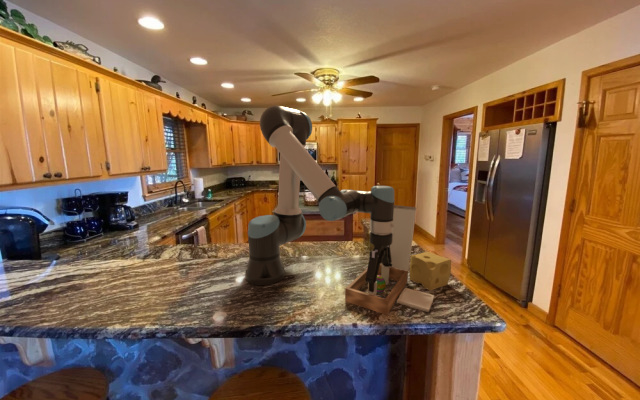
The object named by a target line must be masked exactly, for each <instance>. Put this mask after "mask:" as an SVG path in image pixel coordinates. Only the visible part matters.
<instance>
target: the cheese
mask: <svg viewBox="0 0 640 400" xmlns="http://www.w3.org/2000/svg"><path fill="white" fill-rule="evenodd" d="M451 271H452V259H450V258H448V257H445V256H441V255H438V254H435V253H434V252H430V251H424V252H421V253H418V254H411V255H410V263H409V280H410V281H413V282H414V283H416V284H418V285H419V284H420V285H422V287H423V288H425V289H426V290H428V291H430V292H431V291H433V290H435V289H439V288H441V287H444V286H445V287H446V286H448V284H449V280H450V276H451V274H452V273H451Z"/></svg>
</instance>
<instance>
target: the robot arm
mask: <svg viewBox="0 0 640 400" xmlns="http://www.w3.org/2000/svg"><path fill="white" fill-rule="evenodd" d="M259 127H260V131H261V134H262V136H263V138H264V139H265V140H266V142H267V143H268V144H269V146H270V147H272V148H275V149H276V150H277V151H278V153H279V171H278V172H279V173H278V174H279V175H278V192H277V193H278V196H277V197H278V199H277V207H276V208H275V209H274V210H273V214H265V215H258V216H255V217H254V218H252V219H250V220H249V222H248V226H247V228H248V229H247V238H248V255H249V256H248V257H249V259H248V262H247V265H246V269H245V277H244V278H245V281H246V282H247V283H249V284H250V285H254V286H255V285H256V286H268V285H269V286H270V285H273V284H276V283H279V282H281V281H282V280H283V279H284V278H285V274H286V273H285V271H286V270H285V267H284V265H283V261H282V258H281V253H280V252H281V249H280V248H281V246H283V245H285V244H288V243H289V242H293V241H296V240H297V239H299V238H301V237H302V236H303V235H304V234H305V231H306V230H307V229H306V228H307V221H306V218H305V216H304V215H303V211H302V210H301V208H300V207H299V205H300V204H299V203H300V186H301V185H300V184H301V181H302V183H303V184H304V186H305V187H306V188H307V189H308V190H309V192H310V193H311V194H312V195H313V197H314V198H315V200H316V201H317V202H318V204H319V205H318V210H319V214H320V216H321V218H323V219H324V220H325V221H328V222H334V221H338V220H341V219H343V218H345V217H348V216H350V215H352V214H355V213H362V214H363V213H364V214H370V219H369V231H370V232H369V243H370V244H371V245H373V249H372V250H370V251H369V259H368V263H367V268H368V269H367V268H366V269H367V274H366V278H365V281H366V283H367V293H368V294H371V295H375V296H377V294H378V293H377V281H376V278H377V274H378V270H379V266H380V263H382V264H383V266H382V269H381V276H382V277H383V278H384V280H385V282H386V285H389V284H390V279H389V266H390V267H392V264H390V263H391V262H392V260H391V251H390V245H391V244H392V236H393V234H392V233H391V232H392V231H393V227H394V226H395V225H394V224H393V214H394V205H395V188H394V187H392V186H388V185H374V186H372V187H371V188H370V190H367V191H366V190H355V189H341V190H340V189H339V188H338V187H337V186H336V184H335V183H334V182H333V181H332V179H331V178H330V176H328V174H327V173H326V172H325V170H323V169H322V167H321V166H320V165H319V163H318V162H317V161H316V160H315V159H314V157H313V156H312V155H311V153H309V152H308V150H307V149H306V145H307V140H308V139H309V138H310V137H311V135H312V133H313V123H312V120H311V118H310V117H309V115H308V114H307V113H306V112H303V111H301V110H300V109H295V108H289V107H287V106H286V107H285V106H282V105H271V106H269V107H267V108H266V109H264V111H263V112H262V114H261V116H260V119H259Z"/></svg>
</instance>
